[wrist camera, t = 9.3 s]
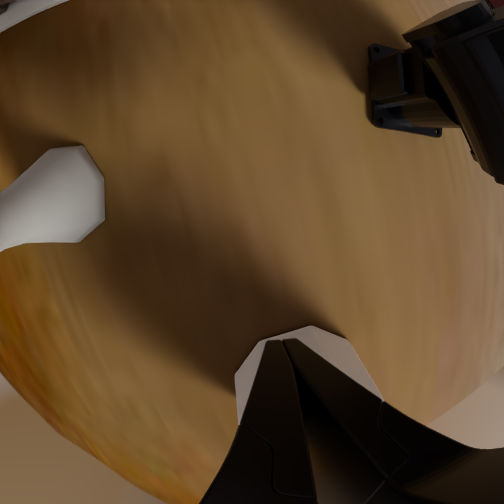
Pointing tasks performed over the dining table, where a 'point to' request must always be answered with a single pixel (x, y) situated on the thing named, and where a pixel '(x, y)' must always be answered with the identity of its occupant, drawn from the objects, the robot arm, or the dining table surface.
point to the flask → (53, 200)
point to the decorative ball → (497, 3)
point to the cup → (320, 342)
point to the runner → (24, 11)
